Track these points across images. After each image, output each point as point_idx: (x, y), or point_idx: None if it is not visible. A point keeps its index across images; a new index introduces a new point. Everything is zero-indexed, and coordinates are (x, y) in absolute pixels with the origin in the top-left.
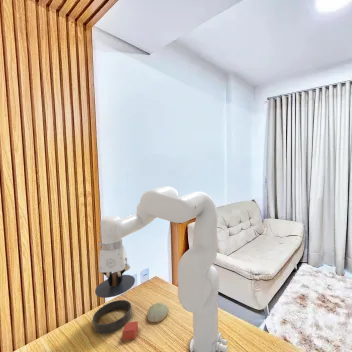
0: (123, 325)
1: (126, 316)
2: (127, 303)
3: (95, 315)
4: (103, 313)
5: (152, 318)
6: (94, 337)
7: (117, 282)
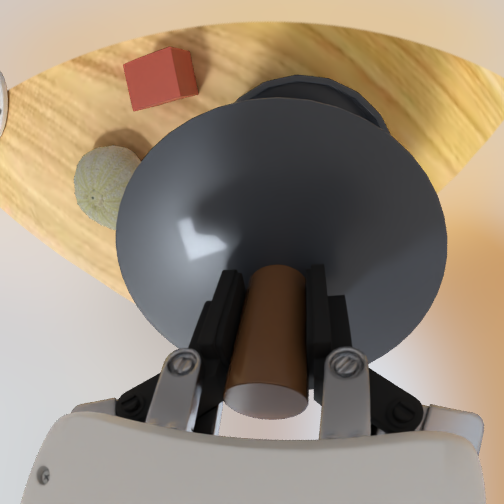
0: None
1: None
2: None
3: None
4: None
5: (104, 149)
6: (338, 70)
7: (230, 292)
